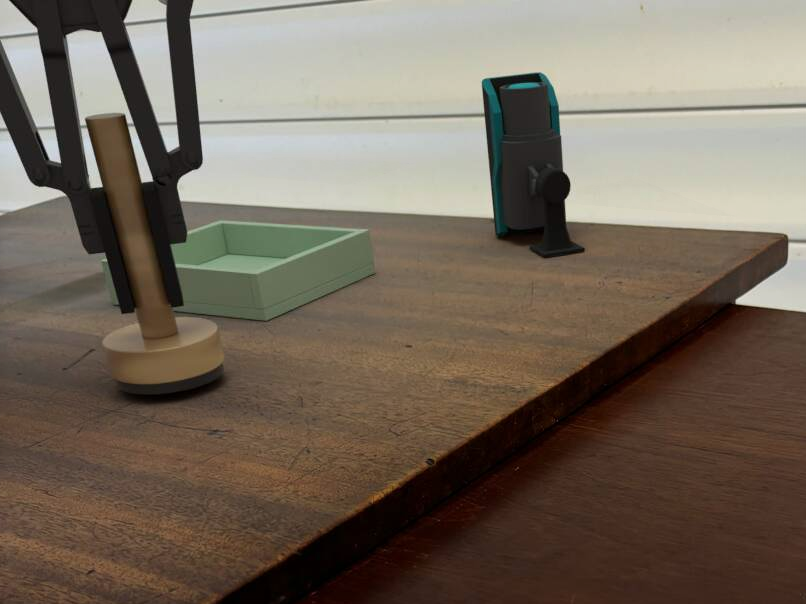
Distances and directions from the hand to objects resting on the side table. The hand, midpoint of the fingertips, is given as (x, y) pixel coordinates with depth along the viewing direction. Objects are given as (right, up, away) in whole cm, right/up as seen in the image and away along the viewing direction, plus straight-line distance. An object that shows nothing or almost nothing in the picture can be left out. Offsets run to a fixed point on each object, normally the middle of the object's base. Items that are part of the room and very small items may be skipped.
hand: (152, 303), depth 71 cm
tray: (0, +9, +22) cm, 24 cm away
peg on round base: (0, -4, +3) cm, 4 cm away
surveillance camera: (+23, +16, +28) cm, 40 cm away
